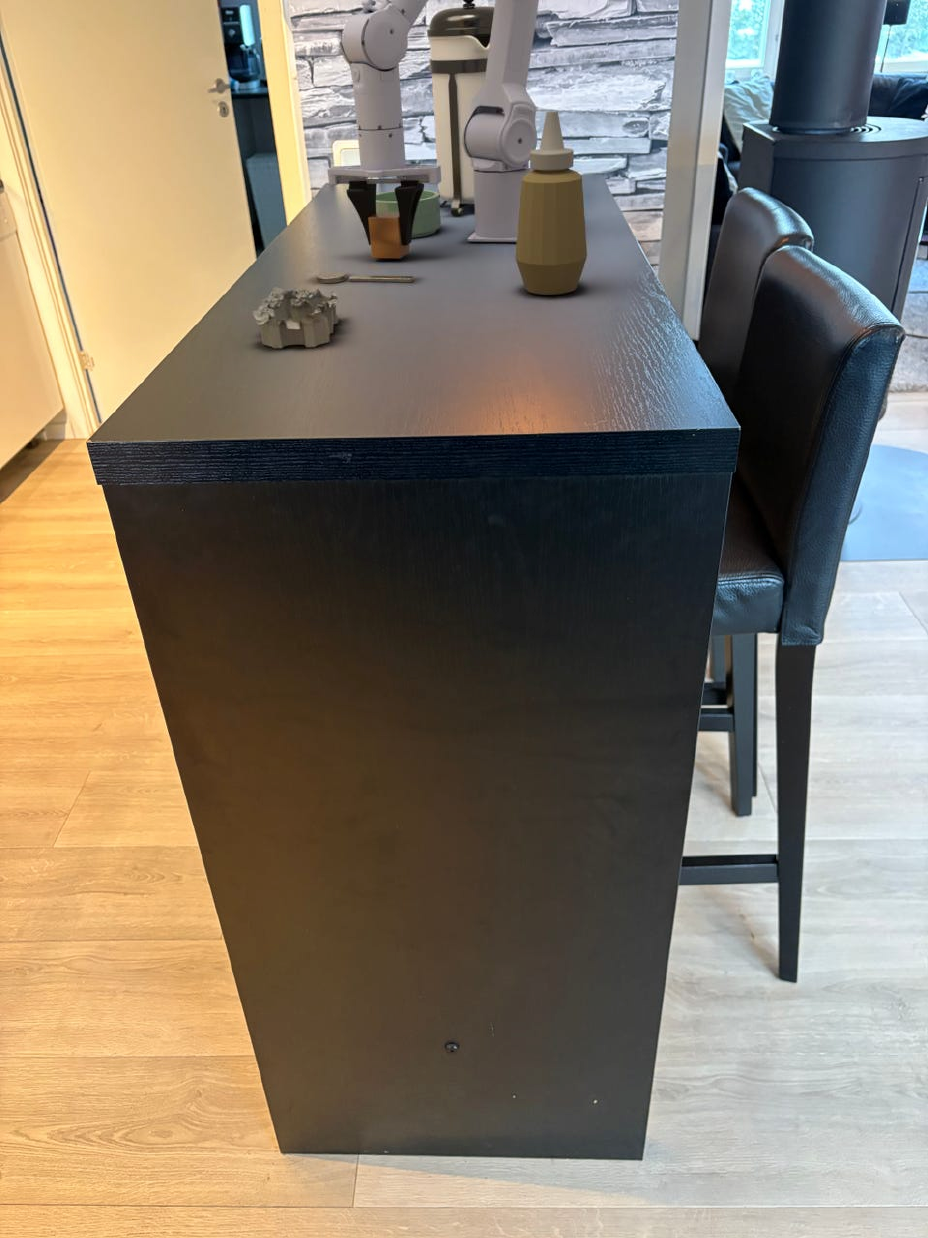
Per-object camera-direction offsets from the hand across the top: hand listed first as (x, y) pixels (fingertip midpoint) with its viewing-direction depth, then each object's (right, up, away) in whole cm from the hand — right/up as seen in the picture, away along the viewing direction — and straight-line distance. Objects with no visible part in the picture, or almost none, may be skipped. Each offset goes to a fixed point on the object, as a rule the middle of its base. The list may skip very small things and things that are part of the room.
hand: (389, 243), depth 123 cm
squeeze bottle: (+20, -12, -16) cm, 28 cm away
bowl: (+1, +8, +15) cm, 17 cm away
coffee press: (+11, +18, +30) cm, 37 cm away
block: (0, -1, +1) cm, 1 cm away
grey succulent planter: (-7, -20, -26) cm, 34 cm away
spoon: (-3, -8, -8) cm, 12 cm away
